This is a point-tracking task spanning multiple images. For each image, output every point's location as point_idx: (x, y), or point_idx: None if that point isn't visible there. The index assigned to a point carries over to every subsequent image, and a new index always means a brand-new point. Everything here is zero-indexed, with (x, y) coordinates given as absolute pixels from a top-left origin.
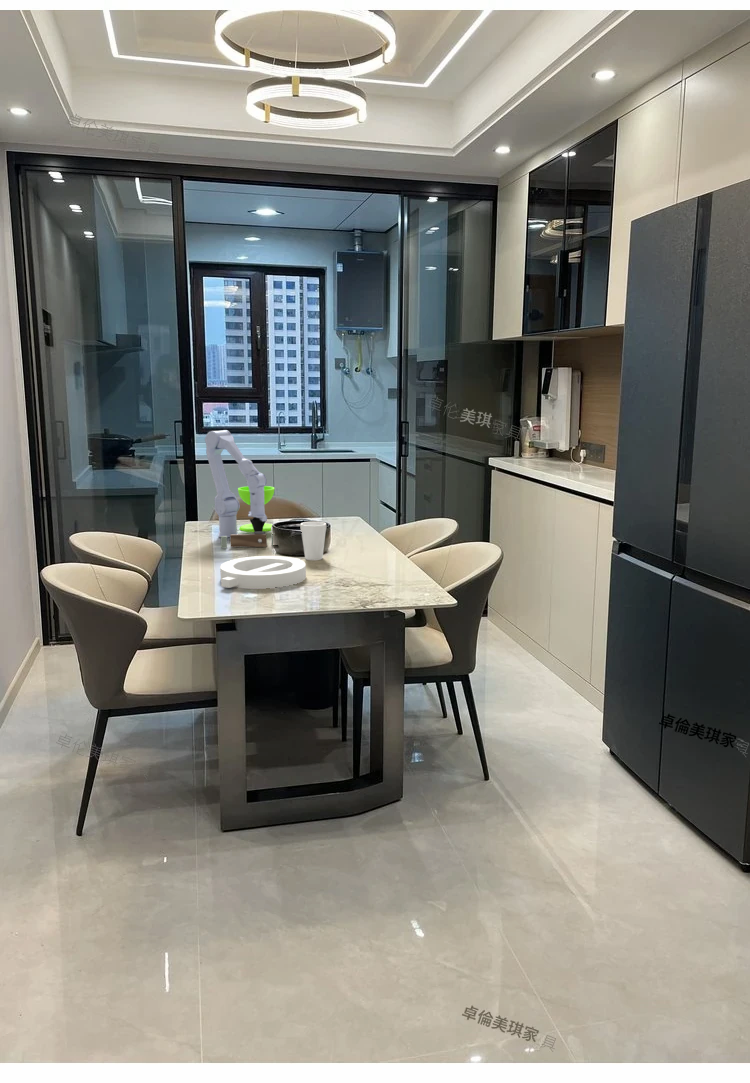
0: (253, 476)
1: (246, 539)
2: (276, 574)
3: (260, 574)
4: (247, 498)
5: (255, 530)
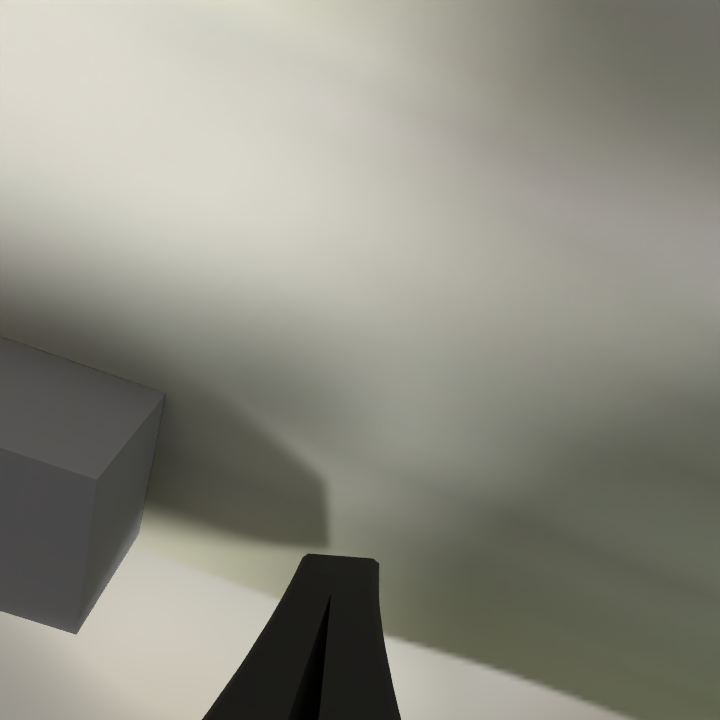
0: None
1: None
2: None
3: None
4: None
5: (251, 671)
